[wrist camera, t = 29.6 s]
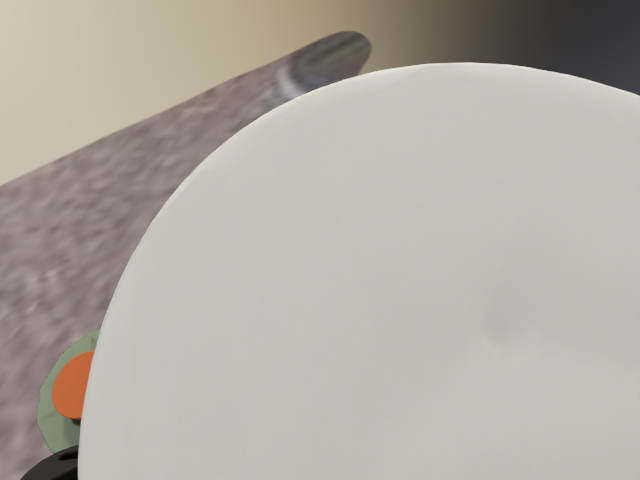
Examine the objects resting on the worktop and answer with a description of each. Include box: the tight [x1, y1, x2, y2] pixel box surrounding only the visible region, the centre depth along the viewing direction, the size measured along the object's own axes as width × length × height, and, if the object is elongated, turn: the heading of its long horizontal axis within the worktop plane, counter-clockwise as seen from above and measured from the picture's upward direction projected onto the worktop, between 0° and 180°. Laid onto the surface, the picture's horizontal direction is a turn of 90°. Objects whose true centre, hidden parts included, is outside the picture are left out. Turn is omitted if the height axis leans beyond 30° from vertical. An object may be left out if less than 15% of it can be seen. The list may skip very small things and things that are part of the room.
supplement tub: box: [78, 63, 640, 480], centre depth 10 cm, size 10×10×15 cm
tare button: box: [52, 351, 95, 420], centre depth 16 cm, size 3×3×2 cm
